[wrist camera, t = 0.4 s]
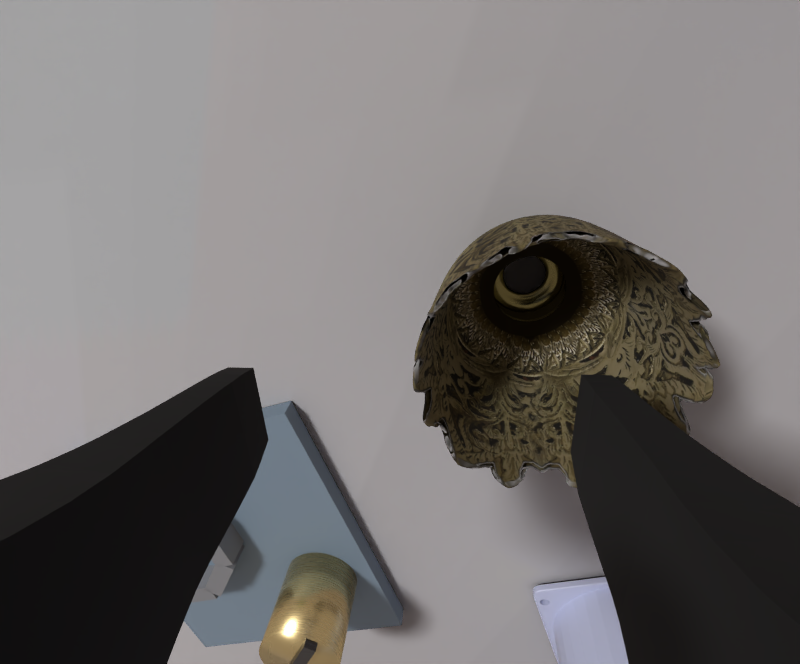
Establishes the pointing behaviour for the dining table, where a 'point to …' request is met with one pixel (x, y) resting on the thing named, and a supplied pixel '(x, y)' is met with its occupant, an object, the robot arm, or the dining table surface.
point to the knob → (310, 612)
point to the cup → (554, 342)
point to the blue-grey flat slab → (285, 542)
